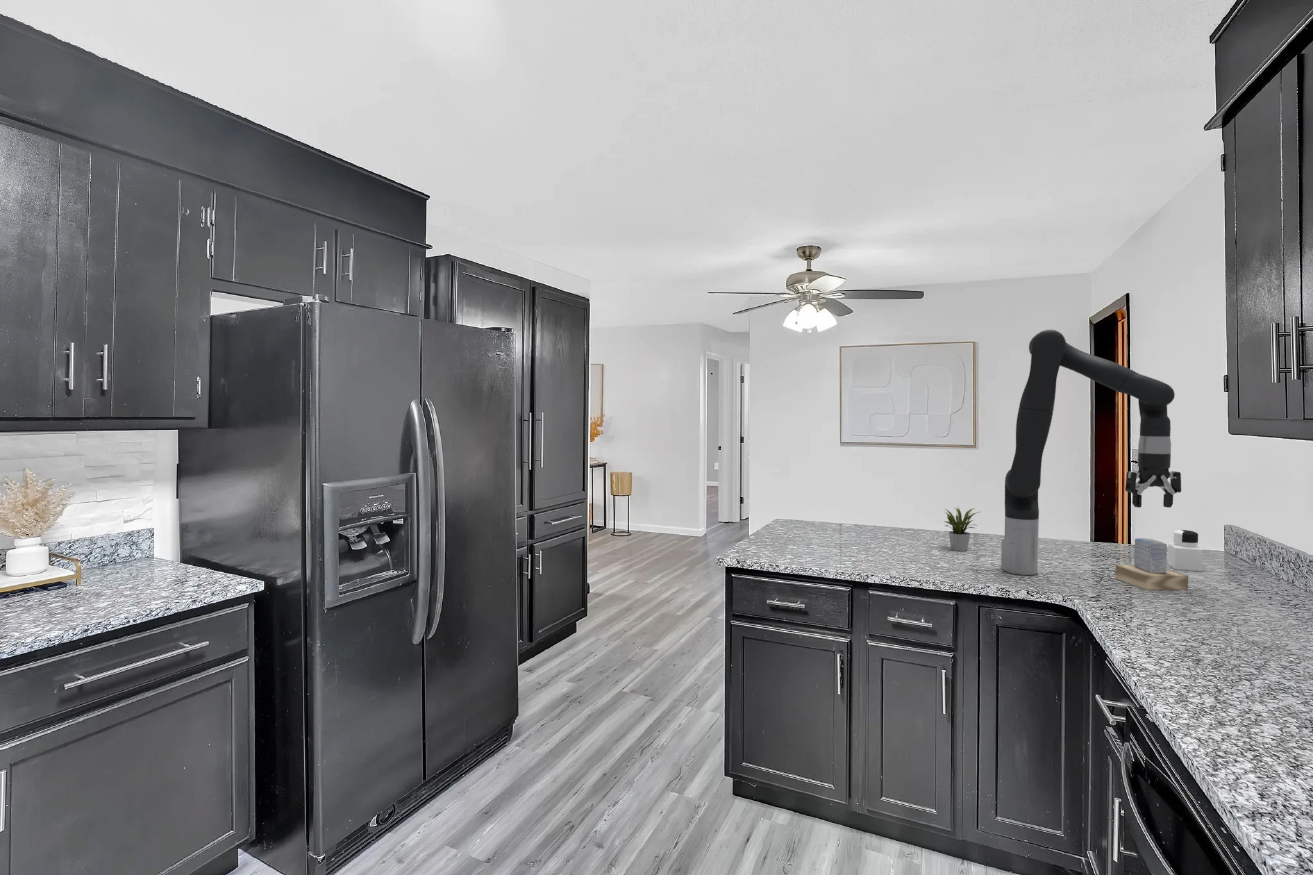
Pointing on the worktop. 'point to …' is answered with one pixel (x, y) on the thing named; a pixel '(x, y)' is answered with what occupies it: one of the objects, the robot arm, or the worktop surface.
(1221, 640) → the worktop surface
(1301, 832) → the worktop surface
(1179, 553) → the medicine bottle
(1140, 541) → the medicine box
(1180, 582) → the oak base
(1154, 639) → the worktop surface
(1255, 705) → the worktop surface
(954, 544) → the house plant
